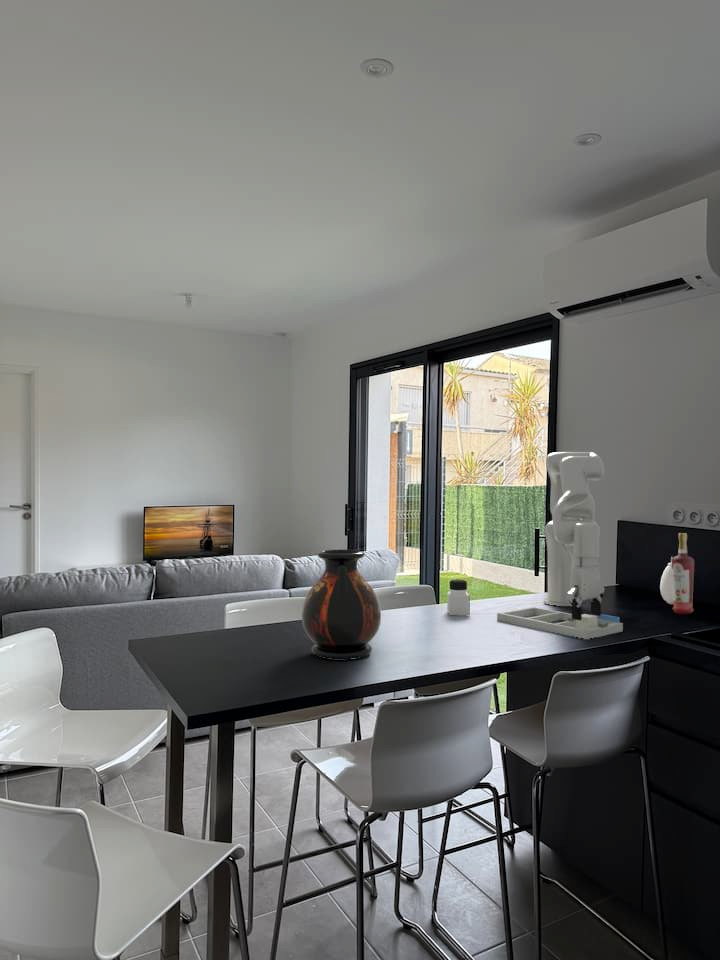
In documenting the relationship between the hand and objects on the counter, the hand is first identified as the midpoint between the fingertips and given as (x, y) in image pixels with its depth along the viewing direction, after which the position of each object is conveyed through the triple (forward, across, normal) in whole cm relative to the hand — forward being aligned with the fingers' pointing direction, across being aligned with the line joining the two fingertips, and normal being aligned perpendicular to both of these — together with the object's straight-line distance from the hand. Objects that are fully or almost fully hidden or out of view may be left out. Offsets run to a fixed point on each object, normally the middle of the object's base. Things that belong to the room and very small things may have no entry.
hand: (586, 617), depth 219 cm
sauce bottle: (+6, -64, -8) cm, 65 cm away
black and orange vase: (+4, +76, -24) cm, 80 cm away
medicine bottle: (+5, +12, -44) cm, 46 cm away
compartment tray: (+4, 0, -10) cm, 11 cm away
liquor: (+5, -50, +4) cm, 51 cm away
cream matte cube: (+4, 0, 0) cm, 4 cm away
